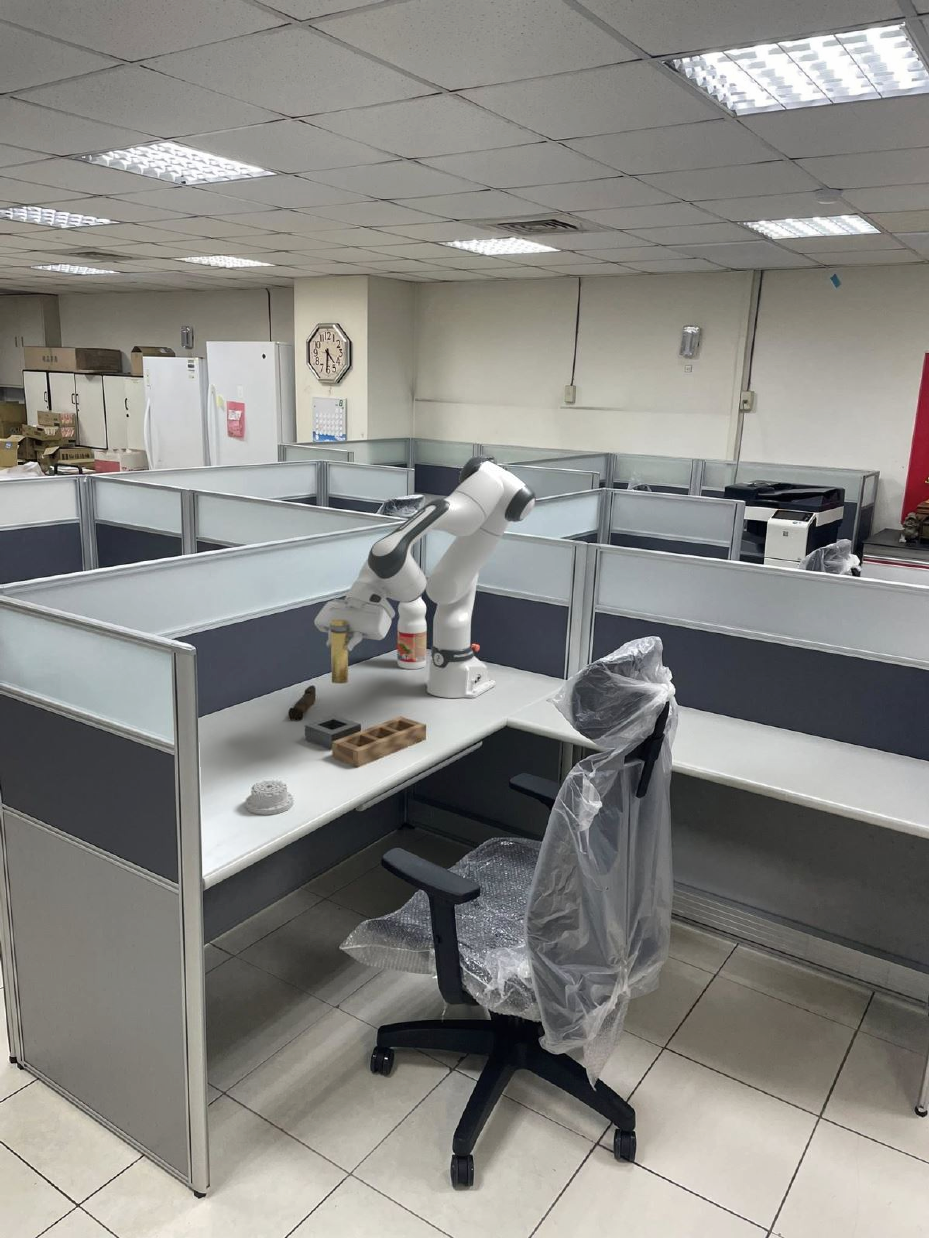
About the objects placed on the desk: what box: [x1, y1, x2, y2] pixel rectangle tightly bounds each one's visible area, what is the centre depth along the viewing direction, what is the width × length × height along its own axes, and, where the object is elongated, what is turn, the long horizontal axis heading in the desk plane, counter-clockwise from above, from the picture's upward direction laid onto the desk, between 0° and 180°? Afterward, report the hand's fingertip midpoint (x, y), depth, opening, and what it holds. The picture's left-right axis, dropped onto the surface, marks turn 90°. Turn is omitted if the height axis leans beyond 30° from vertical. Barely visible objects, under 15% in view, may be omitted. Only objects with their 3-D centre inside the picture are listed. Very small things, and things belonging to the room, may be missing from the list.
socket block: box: [304, 714, 362, 750], centre depth 226 cm, size 10×10×4 cm
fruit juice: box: [396, 595, 428, 670], centre depth 287 cm, size 9×9×28 cm
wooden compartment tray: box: [331, 716, 427, 768], centre depth 221 cm, size 24×9×4 cm, turn 141°
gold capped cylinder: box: [330, 620, 349, 684], centre depth 216 cm, size 5×5×15 cm
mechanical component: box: [245, 779, 294, 816], centre depth 190 cm, size 10×4×10 cm
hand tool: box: [288, 685, 316, 721], centre depth 248 cm, size 19×4×5 cm, turn 172°
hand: (338, 647), depth 215 cm, fingers closed on gold capped cylinder, 4 cm apart
